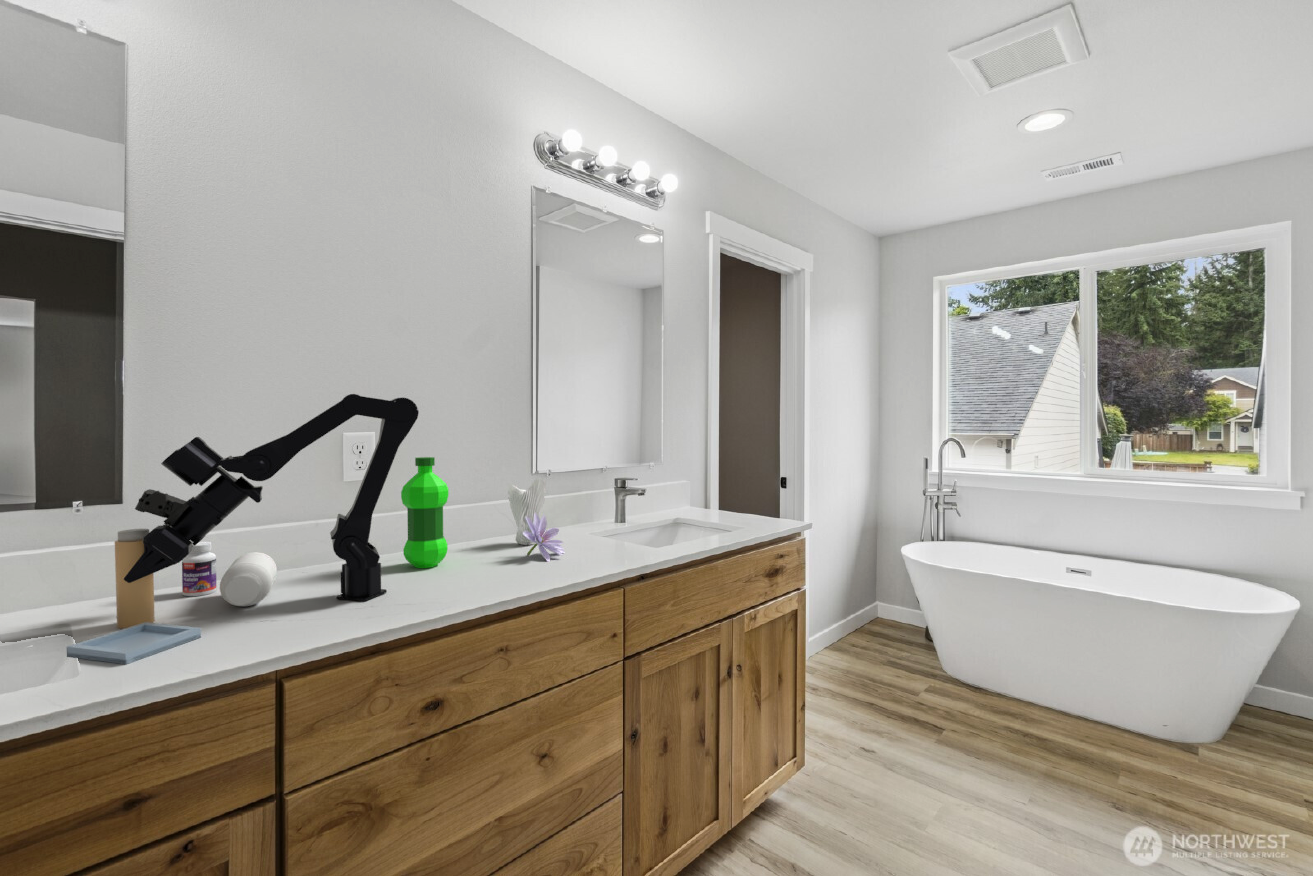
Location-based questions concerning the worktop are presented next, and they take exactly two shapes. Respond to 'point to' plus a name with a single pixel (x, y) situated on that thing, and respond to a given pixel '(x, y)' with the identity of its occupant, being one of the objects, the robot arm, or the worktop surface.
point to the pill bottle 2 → (248, 579)
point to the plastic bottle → (425, 515)
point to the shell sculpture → (526, 506)
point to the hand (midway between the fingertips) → (133, 574)
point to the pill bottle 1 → (199, 571)
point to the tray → (133, 642)
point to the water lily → (543, 537)
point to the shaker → (136, 595)
